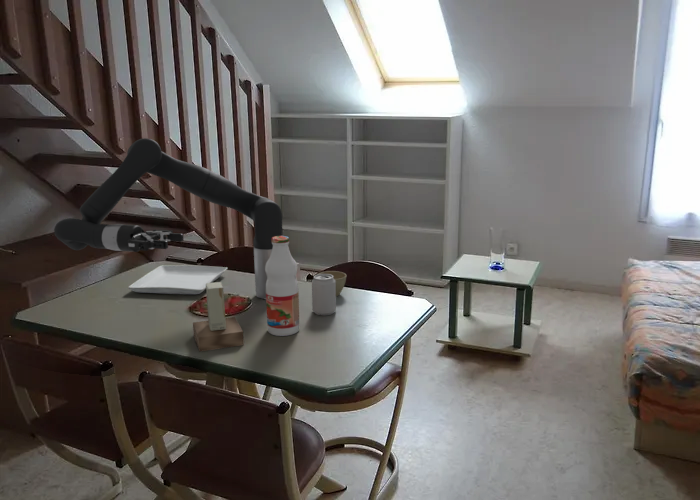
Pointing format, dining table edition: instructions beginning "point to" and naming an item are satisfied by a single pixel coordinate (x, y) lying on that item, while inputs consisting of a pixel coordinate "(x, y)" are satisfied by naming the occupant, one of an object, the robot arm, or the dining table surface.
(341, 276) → the beige bowl
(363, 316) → the dining table surface
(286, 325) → the fruit juice
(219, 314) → the skincare box
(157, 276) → the square plate
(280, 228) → the robot arm
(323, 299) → the can
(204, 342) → the walnut stand
